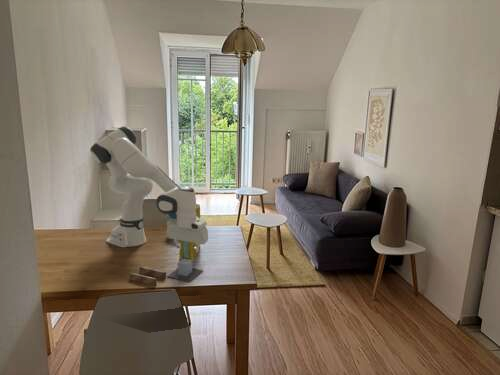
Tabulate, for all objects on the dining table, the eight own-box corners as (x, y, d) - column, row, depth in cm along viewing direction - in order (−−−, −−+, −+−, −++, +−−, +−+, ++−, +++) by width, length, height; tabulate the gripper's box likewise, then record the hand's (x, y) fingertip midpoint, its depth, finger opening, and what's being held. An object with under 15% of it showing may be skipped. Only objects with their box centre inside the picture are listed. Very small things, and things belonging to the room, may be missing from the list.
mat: (167, 277, 172) (167, 276, 171) (181, 266, 182) (181, 265, 182) (189, 282, 167) (189, 281, 167) (203, 271, 178) (203, 270, 178)
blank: (178, 274, 173) (177, 262, 172) (183, 270, 178) (183, 258, 176) (186, 276, 172) (186, 264, 170) (192, 271, 176) (192, 260, 175)
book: (191, 260, 190) (191, 213, 184) (179, 259, 191) (178, 212, 185) (202, 248, 206) (202, 204, 200) (191, 246, 207) (190, 203, 201)
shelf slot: (129, 279, 169) (129, 273, 168) (140, 272, 176) (140, 266, 175) (155, 285, 163) (155, 279, 163) (165, 277, 171) (165, 271, 170)
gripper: (163, 220, 170) (164, 248, 174) (203, 226, 163) (203, 255, 167) (170, 216, 176) (171, 243, 180) (209, 222, 169) (209, 250, 173)
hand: (187, 249), depth 173 cm, fingers open, 8 cm apart
